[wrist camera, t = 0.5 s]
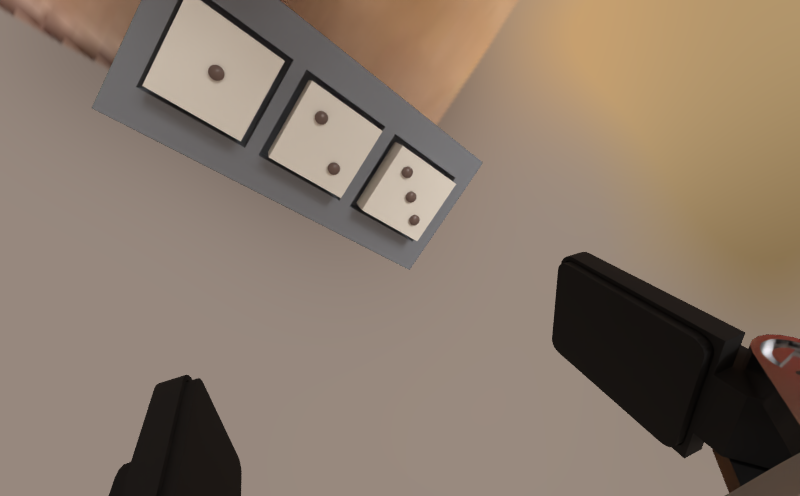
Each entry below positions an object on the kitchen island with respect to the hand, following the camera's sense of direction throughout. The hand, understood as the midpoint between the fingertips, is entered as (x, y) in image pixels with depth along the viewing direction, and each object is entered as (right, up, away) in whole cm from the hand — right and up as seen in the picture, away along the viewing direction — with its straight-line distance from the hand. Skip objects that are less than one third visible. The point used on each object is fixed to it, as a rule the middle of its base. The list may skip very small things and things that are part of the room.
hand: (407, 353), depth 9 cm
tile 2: (-6, +11, +19) cm, 23 cm away
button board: (-7, +12, +22) cm, 26 cm away
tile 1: (-12, +14, +15) cm, 24 cm away
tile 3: (0, +8, +23) cm, 25 cm away
